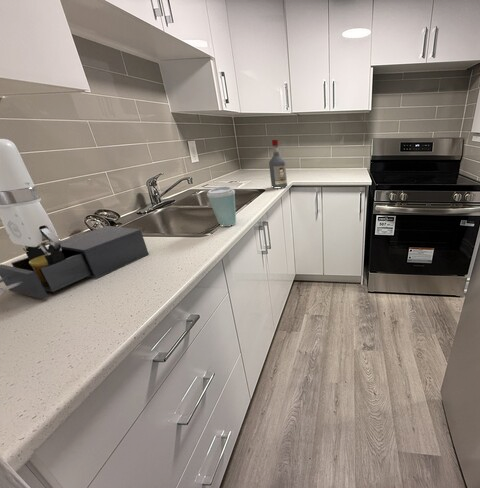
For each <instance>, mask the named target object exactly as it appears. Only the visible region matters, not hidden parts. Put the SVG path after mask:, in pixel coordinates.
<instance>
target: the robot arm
mask: <svg viewBox="0 0 480 488" xmlns="http://www.w3.org/2000/svg"><path fill="white" fill-rule="evenodd" d="M35 185H36V184H34V181H33V179H32V177H31V175H30V173H29V171H28V168H27V166H26V164H25V162H24V160H23V157H22V156H21V153H20V152H19V149H18V148H17V145H16V144H15V143H14V142H13V141H12V140H10V139H7V138H0V221H1V223H2V225H3V227H4V229H5V232H6V233H7V236H8V238H9V240H10V241H11V243H13V244H15V245H19V246H21V247H22V250H23V251H24V252H25V255H26V257H28V258H29V260H32V259H34V258H36V257H39V256H42V255H46V256H44V257H45V258H46V260H47V262H48V264H49V265H50V264H53V263H56V262H58V261H61V260H64V259H65V257H64V255H63V253H62V249H61V245H60V241H61V238H59V236H58V233H57V231H56V230H57V229H56V228H55V226H54V224H53V222H52V220H51V219H50V217H49V215H48V213H47V212H46V210H45V209H44V207H43V205H42V204H41V201H42V198H41V196H40V194H39V192H38V189H37V188H36V186H35ZM44 241H45V242H44ZM49 244H51V245H49ZM47 246H48V247H47Z"/></svg>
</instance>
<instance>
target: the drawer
mask: <svg viewBox="0 0 480 488" xmlns="http://www.w3.org/2000/svg"><path fill="white" fill-rule="evenodd" d="M62 253H63V255H64V257H65V259H64V260H61V261H58V262H56V263H53V264H50V265H48V266H45V267H42V268H39V270H40V272H41V274H42V276H43V278H44V280H45V282H46V283H41V282H40V280H39V279H38V277H37V275H36V273H35V272H34V270H33V268H32V266H30V264H29V261H30V260H29V258H28V256H26V257H24V258H21V259H18V260H15V261H12V262H10V264H11V266H10V265H7V264H0V284H1V283H3V284H4V285H5V286H4V287H0V296H1V295H3V294H4V292H6V291H9V292H13V293H16V294H20V295H25V296H28V297H31V298H36V299H39V300H45V299H46V298H49V295H48V293H47V292H52V293H53V292H57V291H58V290H60V289H62V288H65V287H67V286H69V285H72V284H74V283H76V282H78V281H80V280H82V279H83V280H84V279H85V278H88V277H87V276H89V275H92V274H93V273H92V270H91V268H90V266H89V264H88V261H87V259H86V257H85V255H84V252H78V251H72V250H66V249H62ZM46 291H47V292H46Z"/></svg>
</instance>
